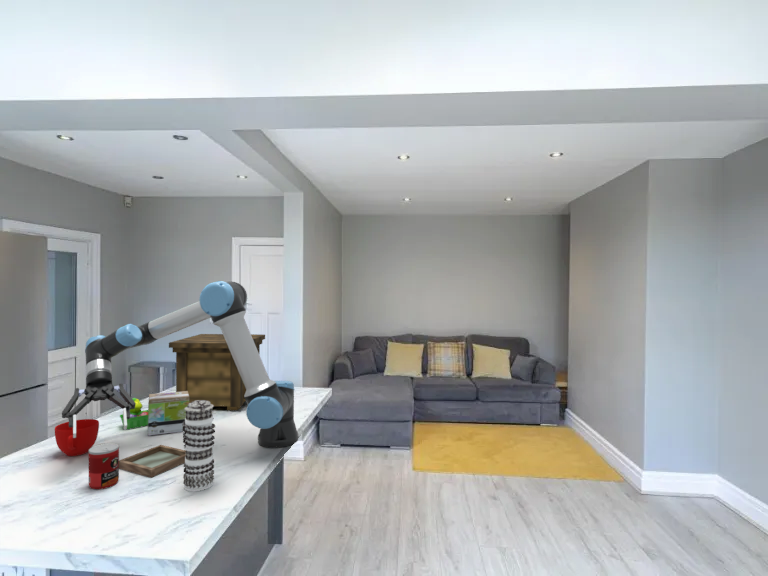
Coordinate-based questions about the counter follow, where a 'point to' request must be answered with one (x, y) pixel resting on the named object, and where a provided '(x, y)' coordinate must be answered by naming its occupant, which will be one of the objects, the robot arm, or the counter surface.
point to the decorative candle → (198, 446)
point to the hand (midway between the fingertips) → (100, 431)
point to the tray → (153, 461)
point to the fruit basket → (136, 416)
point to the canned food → (103, 465)
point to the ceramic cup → (77, 436)
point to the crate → (210, 370)
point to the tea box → (167, 412)
